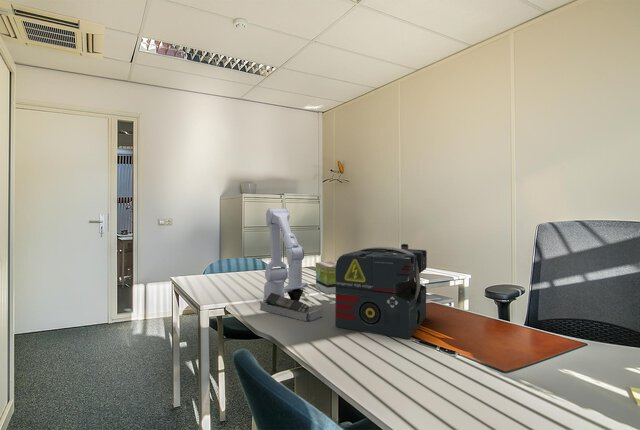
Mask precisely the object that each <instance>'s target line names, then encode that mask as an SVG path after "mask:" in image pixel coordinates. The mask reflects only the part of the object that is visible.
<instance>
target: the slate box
mask: <svg viewBox="0 0 640 430" xmlns="http://www.w3.org/2000/svg"><path fill="white" fill-rule="evenodd" d="M259 307H260V308H259V309H260V311H264V312H266V313H267V312H268V313H272V314H275V315H279V316H283V317H287V318H291V319H295V320H297V321H302V322H312V321H314V320H317V319H319V318H322V317H323V309H322V308H317V309H315V310H312V311H308V312H307V313H306V312H302V311H298V310H294V309H289V308H285V307H281V306H277V305H272V304H268V303H267V301H266V300H263V301H260V306H259Z"/></svg>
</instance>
